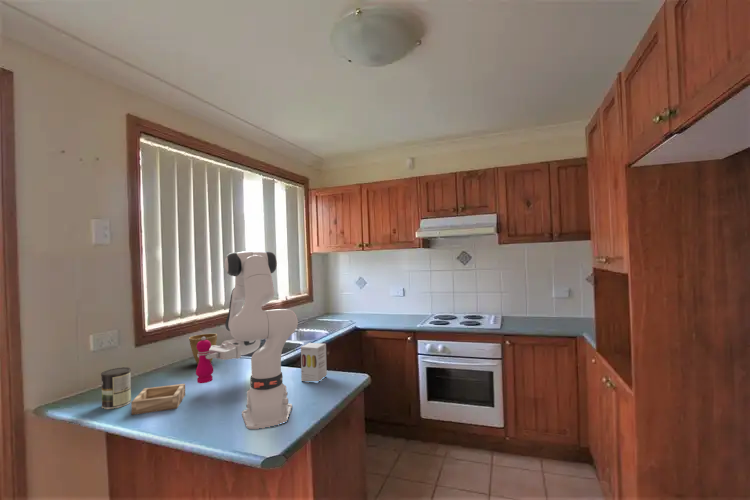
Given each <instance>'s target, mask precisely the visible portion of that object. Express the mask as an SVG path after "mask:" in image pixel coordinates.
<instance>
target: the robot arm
mask: <svg viewBox="0 0 750 500" xmlns="http://www.w3.org/2000/svg"><path fill="white" fill-rule="evenodd" d="M277 265H278V260H277V257H276V254H274V252H273V251H255V250H253V251H252V250H249V251H238V252H236V251H235V252H230V253H228V254H227V255H226V258H225V261H224V268H225V271H226V273H227V274H228V275H230V276H231V277H235V279H234V280H235V282H234V283H235V284H234V287H233V289H232V291H231V295H230V300H229V307H228V308H229V309H228V313H227V317H226V320H225V323H224V324H225V329H226V330H227V331H229V333H230V336H231V337H232V339H228V340H223V342H221V344H220V345H217V344H216V345H213V346H211V348H210V349H209V350H210V354H208V355H206V356H205V358H206V359H211V358H213V359H219V360H224V361H225V360H226V361H228V360H233V359H236V360H237V359H240V358H242V356H246V355H248V354H251V353H253V354H252V355H251V358H250V361H251V362H250V363H251V364H250V365H251V369H250V370H251V375H250V380H249V382H250V388H249V389H248V390H247V391H246V409H243V410H242V411H241V415H242V419H243V421H244V424H245V426H246V428H247V429H248V430H249V429H250V430H259V428H262V429H266V428H265V427H269V428H271V427H270V426H274V425H278V424H280V423H283V422H286V421H287V420H288V421H289V419H288V417H289V418H290V416H289V414H290V415H291V413H290V411H291V412H292V410H291V408H292V409H293V404H292V403H289V398H288V397H287V396H288V391H287V386H286V385H285V384H284V383H283V372H282V352H283V348H284V346H285V344H286V342H287V340H289V338H290V337H291V336H292V335H293V334H295V333H294V332H296V330H297V328H298V324H299V321H298V320H299V319H298V316H297V314H296V312H294V310H292V309H287V308H286V309H285V308H277V309H267V310H264V309H263V306H264V305H266V304H268V303H270V302H272V300H273V299H274V296H275V289H274V284H273V277H272V274H273V273H274V272H275V271H276V270H277V267H278V266H277ZM261 340H265V342H264V343H263V345H262V346H261ZM197 357H199V355H198V354H197ZM278 426H279V425H278ZM274 427H275V426H274Z"/></svg>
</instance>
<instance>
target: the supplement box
mask: <svg viewBox="0 0 750 500" xmlns="http://www.w3.org/2000/svg"><path fill="white" fill-rule="evenodd" d="M300 365H301V366H300V371H301V372H300V373H301V375H300V377H301V381H319V380H321V379H322V378H323V377H325V376H326V375H328V374H327V373H328V372H327V343H321V342H319V343H318V342H317V343H316V342H308V343H306V344H304V345H302V346H301V347H300Z"/></svg>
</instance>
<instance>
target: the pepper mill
mask: <svg viewBox="0 0 750 500" xmlns="http://www.w3.org/2000/svg"><path fill="white" fill-rule="evenodd" d="M201 339H202V340H201V341H199V342H198V343H197V346H196V347H197V350H198V355H199V363H198V365H197V366H196V368H195V375H196V376H197V378H196V379H197V380H196V382H197V383H198V384H206V383H210V382H212V381H213V375H212V374H213V373H214V366H213V364H212V362H210V359H206V358H205V356H206V355H208V354H210V350H209V349H210V348H211V343H210V341H208V340H205V339H206V338H205V337H202V338H201Z"/></svg>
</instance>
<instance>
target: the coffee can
mask: <svg viewBox="0 0 750 500" xmlns="http://www.w3.org/2000/svg"><path fill="white" fill-rule="evenodd" d="M131 370H132V368H131V367H128V366H127V367H115V368H110V369H108V370H104V371H103V372H101V373H100V376H101V377H100V378H101V409H103V408H104V409H103V410H114V408H115V409H118V408H121V407H125V406H127V405H129V404H131V402H132V392H131V391H132V388H131V387H132V386H131V383H132V382H131V381H132V380H131Z"/></svg>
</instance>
